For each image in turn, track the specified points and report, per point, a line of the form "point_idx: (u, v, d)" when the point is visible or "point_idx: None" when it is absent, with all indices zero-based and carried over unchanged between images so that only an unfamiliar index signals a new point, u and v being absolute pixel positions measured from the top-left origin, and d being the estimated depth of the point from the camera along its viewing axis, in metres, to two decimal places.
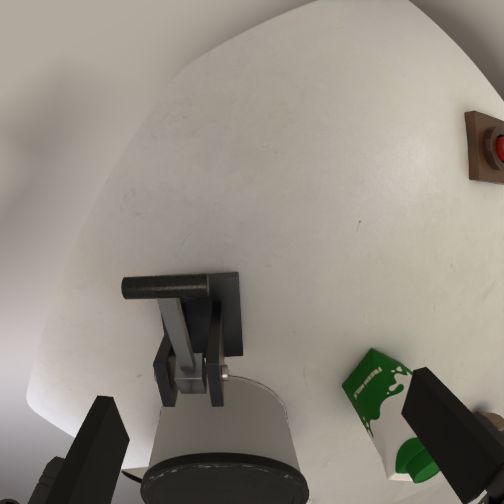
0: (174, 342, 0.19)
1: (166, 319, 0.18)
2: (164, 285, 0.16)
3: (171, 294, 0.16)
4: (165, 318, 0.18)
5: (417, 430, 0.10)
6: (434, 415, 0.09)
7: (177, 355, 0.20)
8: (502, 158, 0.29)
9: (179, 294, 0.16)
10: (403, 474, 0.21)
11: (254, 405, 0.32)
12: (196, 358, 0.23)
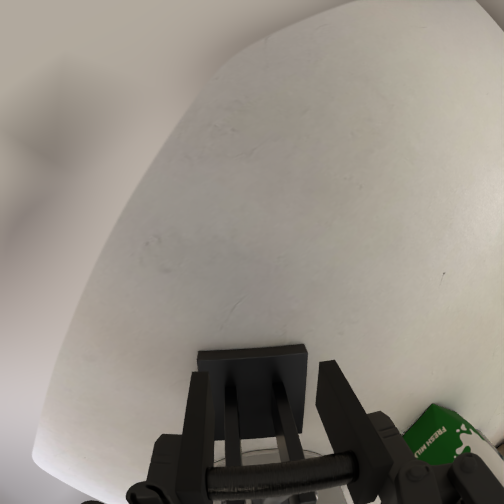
0: (269, 501, 0.10)
1: (271, 498, 0.09)
2: (288, 487, 0.07)
3: (298, 493, 0.07)
4: (269, 497, 0.09)
5: (325, 422, 0.12)
6: (332, 408, 0.11)
7: (265, 503, 0.11)
8: None
9: (312, 491, 0.07)
10: None
11: None
12: None
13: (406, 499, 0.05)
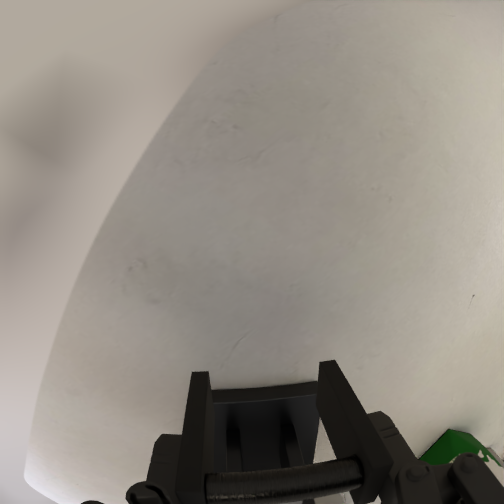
0: None
1: None
2: (290, 487, 0.07)
3: (302, 498, 0.07)
4: None
5: (325, 422, 0.12)
6: (332, 408, 0.11)
7: None
8: None
9: (316, 495, 0.07)
10: None
11: None
12: None
13: (406, 499, 0.05)
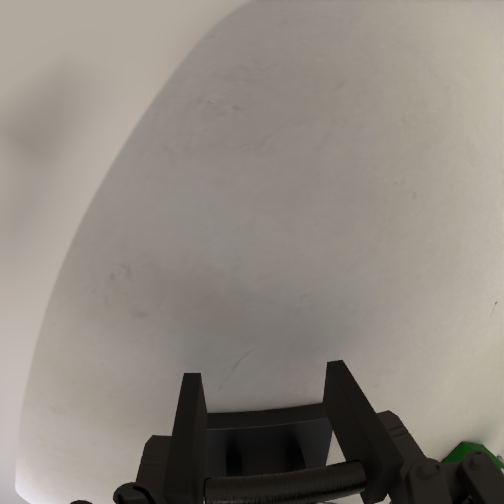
0: None
1: None
2: (291, 487, 0.07)
3: (304, 500, 0.07)
4: None
5: (332, 422, 0.12)
6: (341, 408, 0.11)
7: None
8: None
9: (318, 497, 0.07)
10: None
11: None
12: None
13: (417, 497, 0.05)
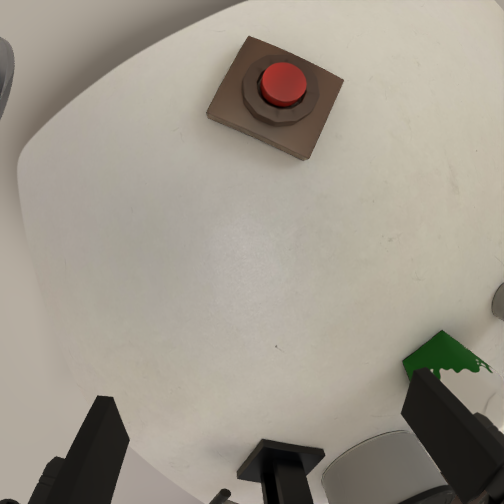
0: None
1: None
2: (214, 501, 0.26)
3: (218, 503, 0.25)
4: None
5: (417, 430, 0.10)
6: (434, 415, 0.09)
7: None
8: (294, 101, 0.22)
9: (219, 501, 0.25)
10: None
11: (362, 470, 0.32)
12: None
13: None
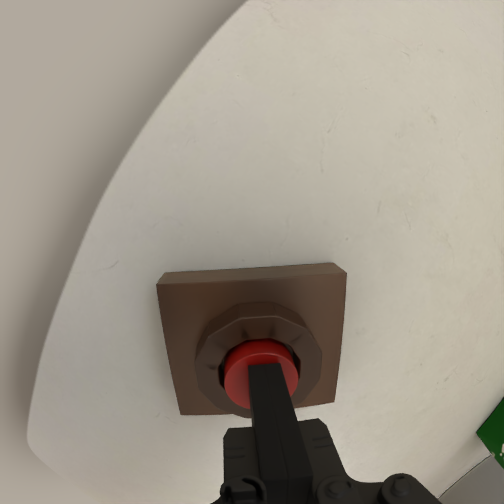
0: None
1: None
2: None
3: None
4: None
5: None
6: None
7: None
8: None
9: None
10: None
11: None
12: None
13: None
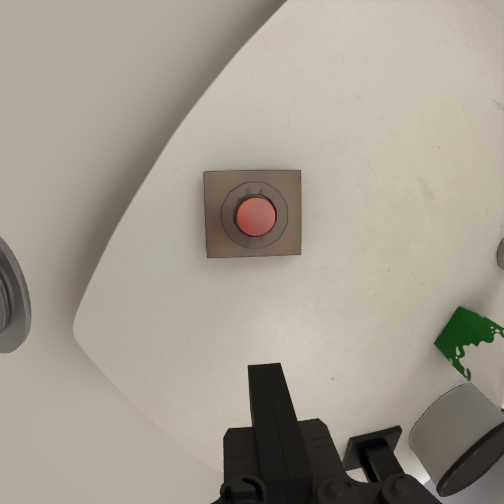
0: None
1: None
2: None
3: None
4: None
5: None
6: None
7: None
8: None
9: None
10: None
11: (434, 431, 0.38)
12: None
13: None
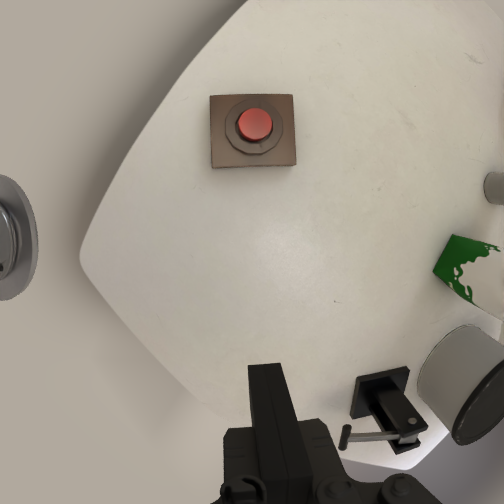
0: (375, 440, 0.35)
1: (359, 441, 0.36)
2: (341, 439, 0.36)
3: (345, 439, 0.36)
4: (358, 441, 0.36)
5: None
6: None
7: (385, 439, 0.35)
8: None
9: (345, 437, 0.36)
10: None
11: (443, 369, 0.41)
12: None
13: None
